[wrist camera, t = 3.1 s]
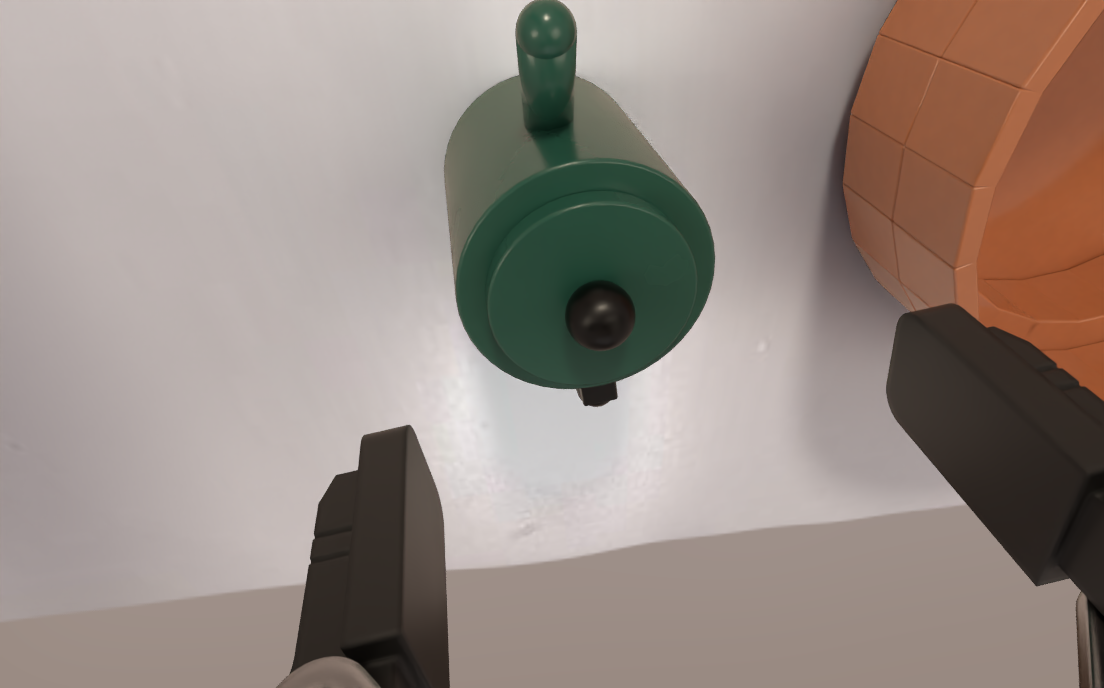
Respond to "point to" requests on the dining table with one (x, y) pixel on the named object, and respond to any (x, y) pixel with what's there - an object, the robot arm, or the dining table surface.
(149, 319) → the dining table surface
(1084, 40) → the bowl
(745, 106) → the dining table surface
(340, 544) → the robot arm
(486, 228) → the kettle
